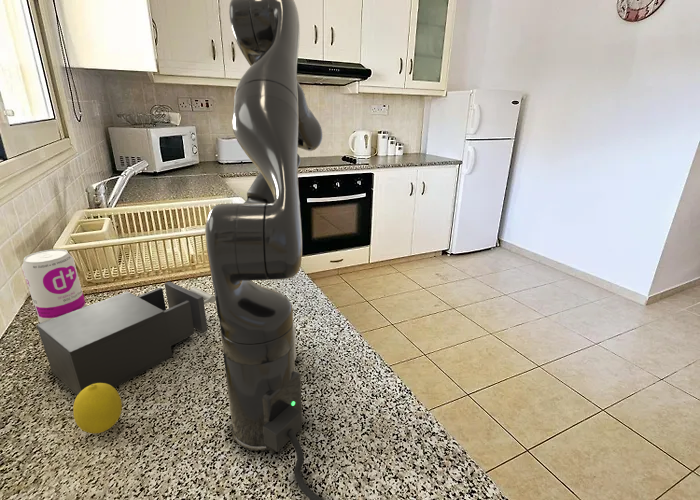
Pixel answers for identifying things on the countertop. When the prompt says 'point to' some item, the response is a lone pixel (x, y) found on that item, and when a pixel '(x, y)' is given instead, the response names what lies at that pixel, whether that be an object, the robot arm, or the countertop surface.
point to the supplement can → (53, 283)
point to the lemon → (97, 408)
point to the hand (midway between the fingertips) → (233, 249)
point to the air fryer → (106, 341)
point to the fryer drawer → (181, 309)
